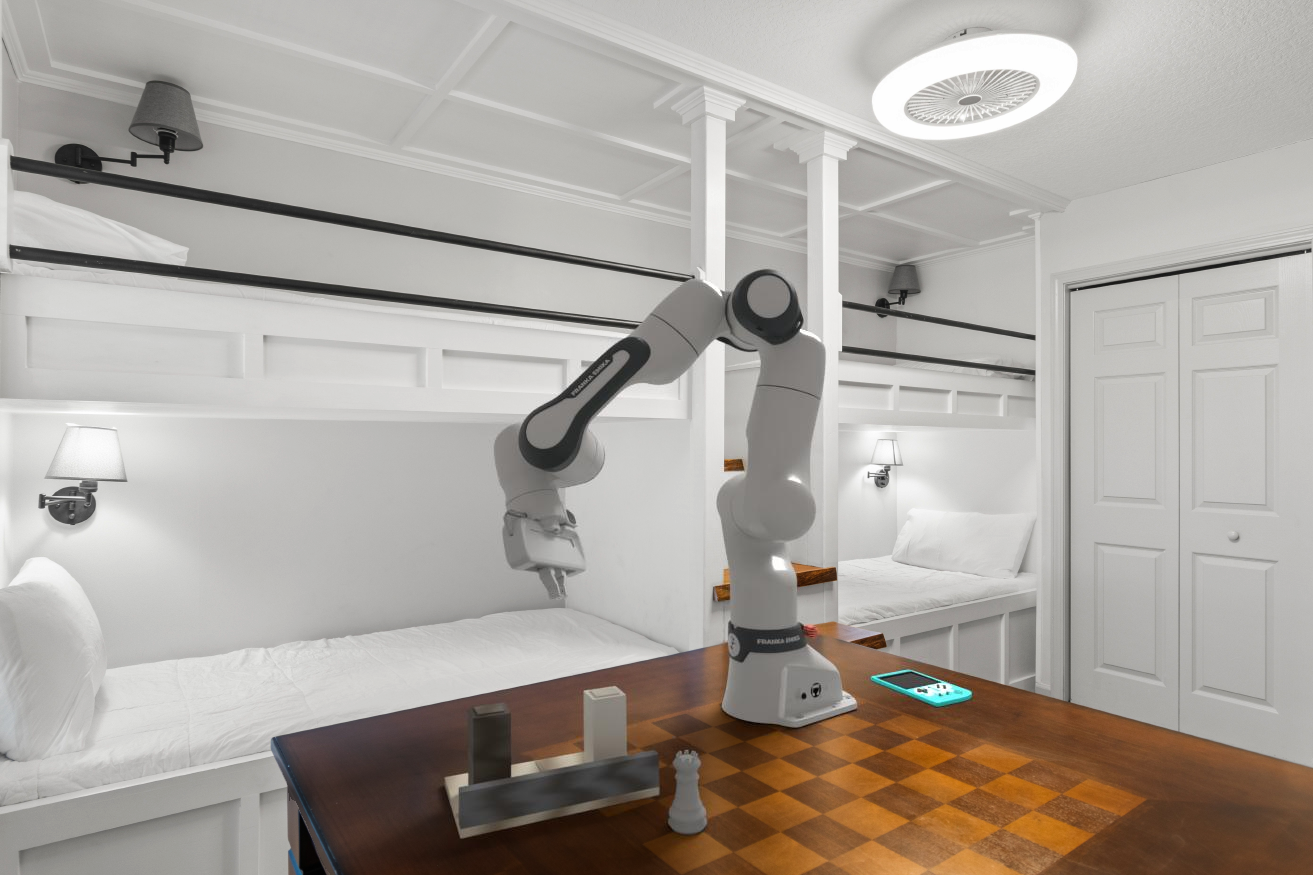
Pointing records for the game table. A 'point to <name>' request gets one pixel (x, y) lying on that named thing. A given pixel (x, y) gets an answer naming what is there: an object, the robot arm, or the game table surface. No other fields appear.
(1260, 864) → the game table surface
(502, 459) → the robot arm
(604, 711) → the ivory key
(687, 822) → the rook chess piece
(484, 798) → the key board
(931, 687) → the handheld game console
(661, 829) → the game table surface
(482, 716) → the ebony key
